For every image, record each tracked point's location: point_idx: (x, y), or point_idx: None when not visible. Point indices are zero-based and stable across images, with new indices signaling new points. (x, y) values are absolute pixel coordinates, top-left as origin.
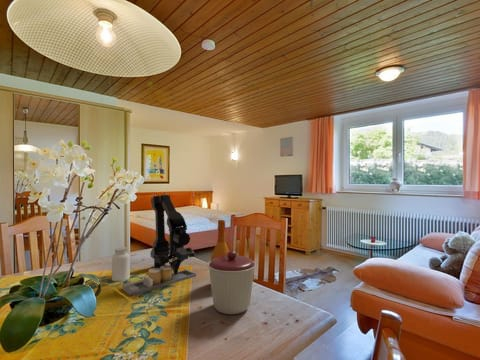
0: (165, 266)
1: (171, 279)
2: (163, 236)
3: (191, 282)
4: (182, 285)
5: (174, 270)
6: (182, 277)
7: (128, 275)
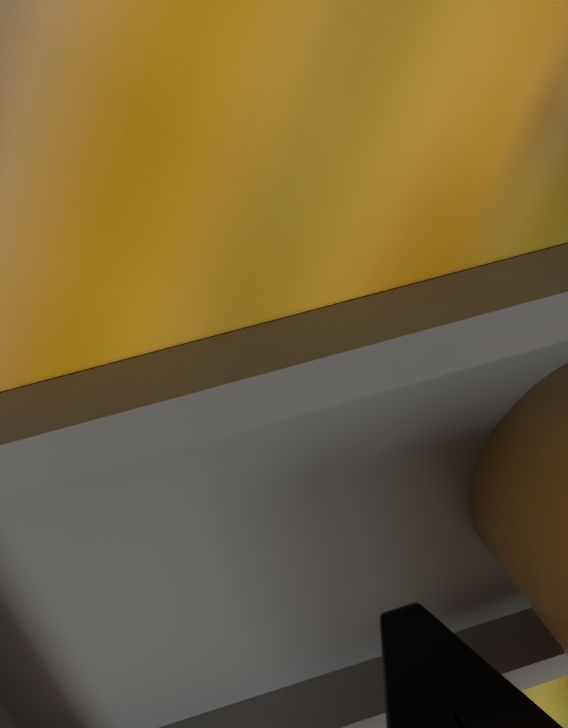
0: None
1: (562, 418)
2: None
3: (23, 117)
4: (378, 30)
5: (526, 715)
6: (268, 403)
7: None
